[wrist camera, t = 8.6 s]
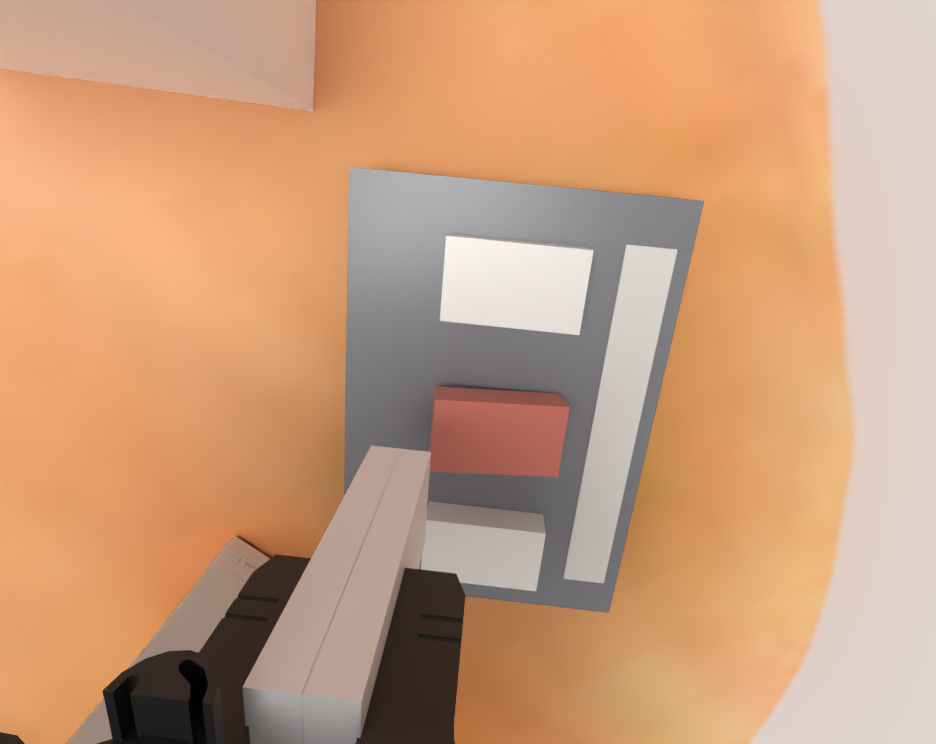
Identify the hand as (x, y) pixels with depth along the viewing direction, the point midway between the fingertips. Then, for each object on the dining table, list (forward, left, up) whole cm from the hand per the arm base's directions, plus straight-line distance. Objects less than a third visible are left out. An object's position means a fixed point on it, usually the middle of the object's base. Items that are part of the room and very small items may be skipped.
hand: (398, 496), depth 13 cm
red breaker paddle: (0, -2, -5) cm, 5 cm away
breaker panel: (0, -2, -8) cm, 8 cm away
